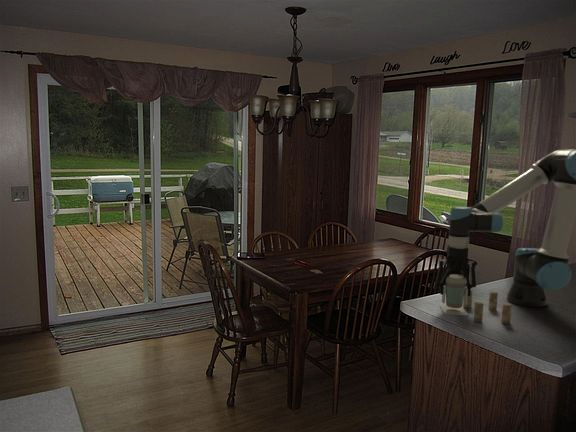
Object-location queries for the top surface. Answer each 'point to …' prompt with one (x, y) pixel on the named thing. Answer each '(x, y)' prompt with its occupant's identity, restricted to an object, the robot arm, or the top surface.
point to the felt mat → (453, 311)
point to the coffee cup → (455, 290)
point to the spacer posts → (492, 306)
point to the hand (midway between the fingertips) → (454, 302)
